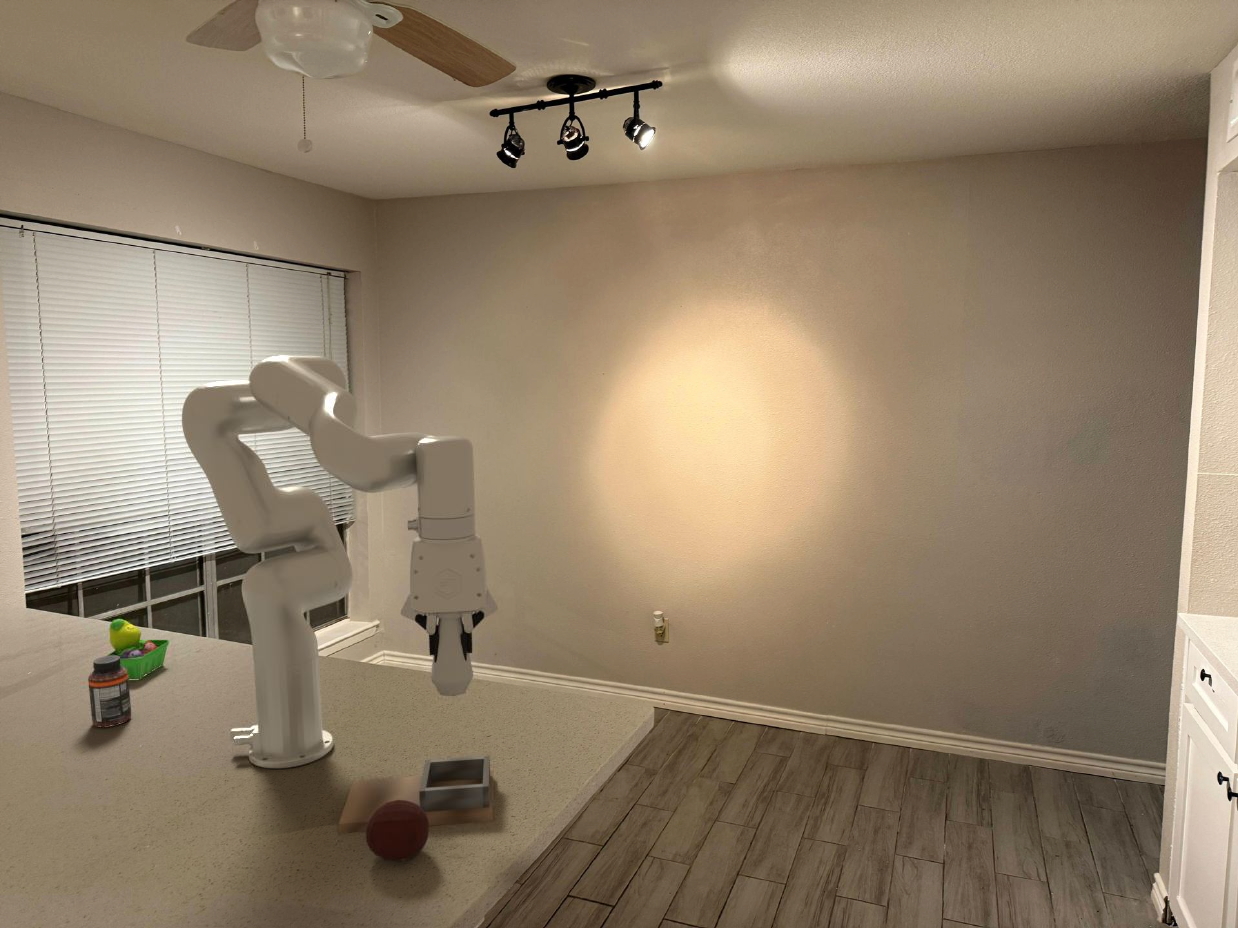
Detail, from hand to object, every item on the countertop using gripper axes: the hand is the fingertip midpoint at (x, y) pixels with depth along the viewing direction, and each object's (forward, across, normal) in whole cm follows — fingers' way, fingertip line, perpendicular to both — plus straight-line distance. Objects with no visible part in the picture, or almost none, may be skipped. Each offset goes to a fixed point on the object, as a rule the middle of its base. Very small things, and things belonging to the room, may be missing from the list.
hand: (451, 657), depth 119 cm
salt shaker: (+5, 0, 0) cm, 5 cm away
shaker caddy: (+21, -5, 0) cm, 21 cm away
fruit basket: (+21, -67, +62) cm, 94 cm away
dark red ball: (+21, -6, -13) cm, 25 cm away
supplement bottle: (+21, -61, +37) cm, 74 cm away
